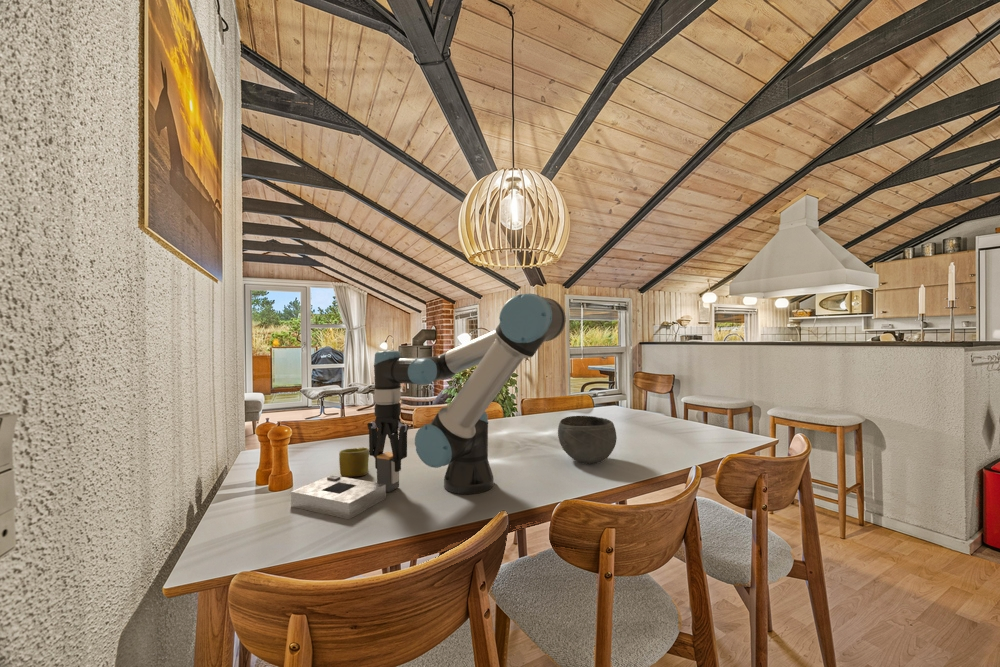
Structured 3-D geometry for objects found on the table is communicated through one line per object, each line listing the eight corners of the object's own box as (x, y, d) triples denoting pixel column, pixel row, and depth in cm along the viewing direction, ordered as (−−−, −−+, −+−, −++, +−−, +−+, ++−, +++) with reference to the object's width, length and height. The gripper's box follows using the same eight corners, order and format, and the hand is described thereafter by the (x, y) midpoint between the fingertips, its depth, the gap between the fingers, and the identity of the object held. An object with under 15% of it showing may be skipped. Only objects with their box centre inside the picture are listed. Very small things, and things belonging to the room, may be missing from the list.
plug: (399, 486, 122) (398, 453, 122) (389, 492, 118) (389, 457, 118) (386, 484, 123) (386, 451, 124) (377, 489, 119) (376, 455, 119)
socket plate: (385, 498, 114) (385, 482, 114) (349, 519, 101) (349, 500, 101) (331, 488, 121) (331, 472, 121) (290, 506, 108) (290, 489, 108)
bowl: (580, 450, 161) (580, 412, 162) (628, 462, 146) (628, 420, 146) (545, 461, 147) (545, 419, 147) (594, 475, 132) (594, 429, 132)
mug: (362, 475, 127) (356, 443, 129) (334, 483, 129) (329, 452, 131) (383, 470, 138) (377, 441, 141) (357, 478, 140) (352, 449, 143)
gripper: (419, 402, 121) (420, 480, 121) (372, 399, 128) (373, 473, 127) (404, 406, 114) (405, 489, 114) (355, 402, 121) (356, 481, 120)
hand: (388, 480), depth 121 cm, fingers closed on plug, 4 cm apart
